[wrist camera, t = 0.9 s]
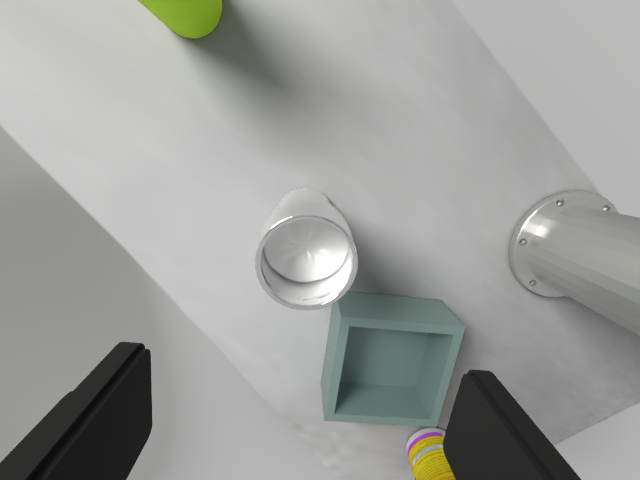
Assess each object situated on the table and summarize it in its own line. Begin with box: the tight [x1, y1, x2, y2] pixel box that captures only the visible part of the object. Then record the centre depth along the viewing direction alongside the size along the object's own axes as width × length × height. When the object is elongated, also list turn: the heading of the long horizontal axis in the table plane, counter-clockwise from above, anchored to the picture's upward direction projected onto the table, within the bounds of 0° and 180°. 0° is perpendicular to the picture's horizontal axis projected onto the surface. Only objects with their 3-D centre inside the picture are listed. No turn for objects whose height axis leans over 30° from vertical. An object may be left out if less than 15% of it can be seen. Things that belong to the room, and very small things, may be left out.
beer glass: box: [255, 187, 358, 310], centre depth 27 cm, size 7×7×15 cm
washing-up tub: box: [321, 291, 466, 427], centre depth 37 cm, size 13×13×6 cm
